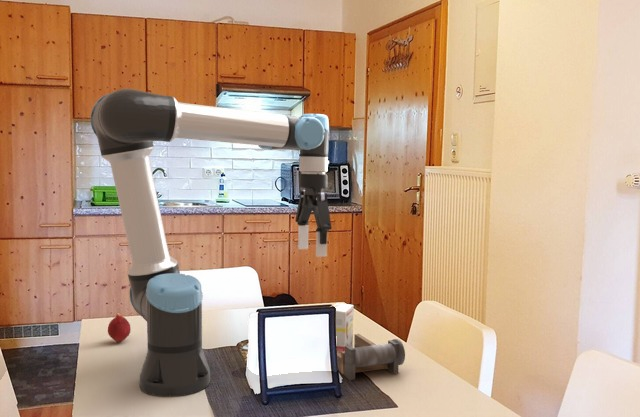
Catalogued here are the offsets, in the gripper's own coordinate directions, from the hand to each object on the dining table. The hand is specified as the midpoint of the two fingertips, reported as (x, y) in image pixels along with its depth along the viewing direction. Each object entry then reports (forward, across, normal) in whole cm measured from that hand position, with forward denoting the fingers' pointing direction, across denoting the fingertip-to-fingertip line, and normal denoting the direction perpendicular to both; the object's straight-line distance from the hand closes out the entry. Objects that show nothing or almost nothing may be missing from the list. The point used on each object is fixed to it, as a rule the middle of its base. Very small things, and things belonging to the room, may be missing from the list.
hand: (311, 252), depth 163 cm
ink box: (+25, -10, -4) cm, 27 cm away
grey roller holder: (+24, -20, -5) cm, 32 cm away
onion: (+25, +17, +48) cm, 57 cm away
